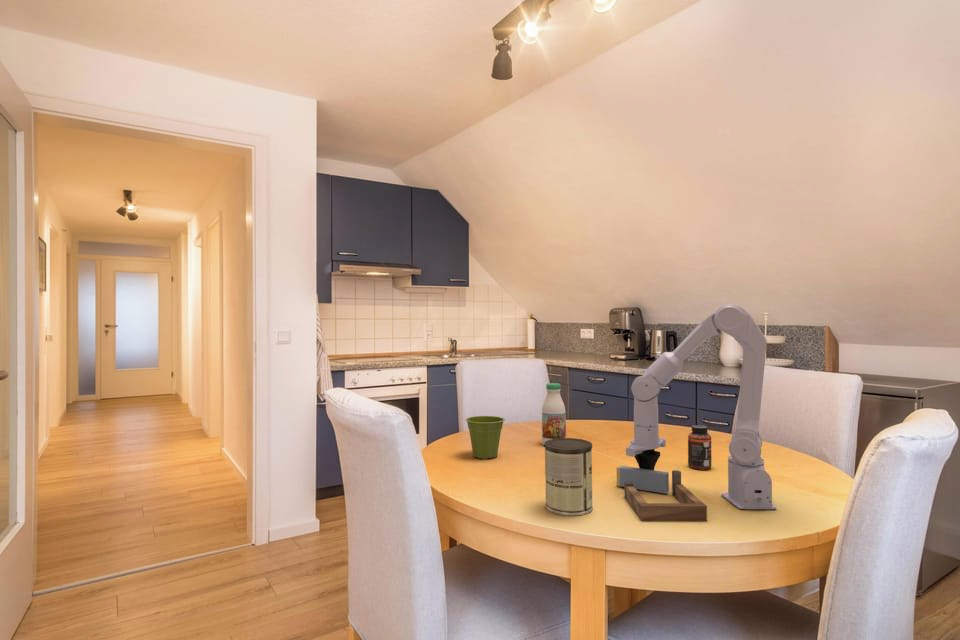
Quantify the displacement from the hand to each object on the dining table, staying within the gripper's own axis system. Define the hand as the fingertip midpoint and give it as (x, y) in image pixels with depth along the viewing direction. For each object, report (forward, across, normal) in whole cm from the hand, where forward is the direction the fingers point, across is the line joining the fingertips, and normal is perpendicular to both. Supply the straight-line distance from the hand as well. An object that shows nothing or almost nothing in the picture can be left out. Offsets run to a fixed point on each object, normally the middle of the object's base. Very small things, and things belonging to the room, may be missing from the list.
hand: (646, 480), depth 129 cm
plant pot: (+2, +9, -48) cm, 49 cm away
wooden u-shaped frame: (+2, +9, +9) cm, 13 cm away
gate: (+1, +3, 0) cm, 3 cm away
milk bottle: (+2, -16, -44) cm, 47 cm away
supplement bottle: (+2, -26, 0) cm, 26 cm away
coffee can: (+2, +25, -4) cm, 25 cm away
